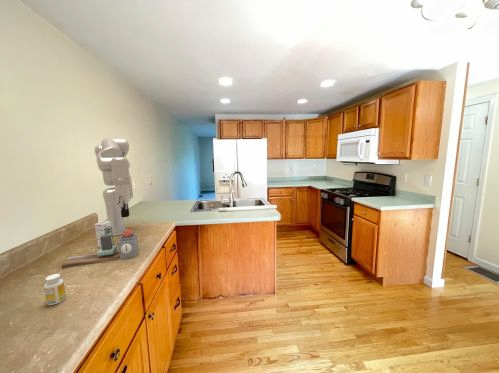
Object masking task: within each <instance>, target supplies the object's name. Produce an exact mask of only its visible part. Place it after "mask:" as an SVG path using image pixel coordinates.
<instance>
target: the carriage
mask: <svg viewBox="0 0 499 373" xmlns="http://www.w3.org/2000/svg"><path fill="white" fill-rule="evenodd" d="M100 239H101V247H100V249H99V250H98V251H97V252H96V253H97V256H102V255H109V254H114V252H115V250H118V249H117V248H118V244H115V245H114V244H112V238H111V235H103V236H101V237H100Z"/></svg>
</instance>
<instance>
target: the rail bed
mask: <svg viewBox="0 0 499 373" xmlns="http://www.w3.org/2000/svg"><path fill="white" fill-rule="evenodd" d="M118 260H121V259H120V254H119V249H116V250H115V252H114V254H109V255H102V256H97V252H91V253H85V254H84V253H83V254H76V255H70V256H69V257H67V258H66V260H65V261H64V262H63V264H61V269H66V268H73V267H79V266H85V265H93V264H98V263H99V264H100V263H105V262H112V261H118Z"/></svg>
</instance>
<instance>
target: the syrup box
mask: <svg viewBox="0 0 499 373" xmlns="http://www.w3.org/2000/svg"><path fill="white" fill-rule="evenodd" d="M94 228H95V236H96V242H97V247H98V248H102V247H101V239H100V237H101V236H103V235H111V238H112V245H114V236H113V234H112V226H111V221H108V220H102V221H100V222H97V223H95V224H94Z"/></svg>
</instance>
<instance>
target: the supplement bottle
mask: <svg viewBox="0 0 499 373" xmlns="http://www.w3.org/2000/svg"><path fill="white" fill-rule="evenodd" d="M44 280H45V284H44V285H43V289H44V296H45V302H46V304H47V305H48V306H55V305H58V304H59V303H62V302H63V301H64V300H65V299H66V297H67V295H66V288H65V281H64V279H62V278H61V274H60V273H54V274H50V275H48V276H47V277H45V279H44ZM54 304H55V305H54Z"/></svg>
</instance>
